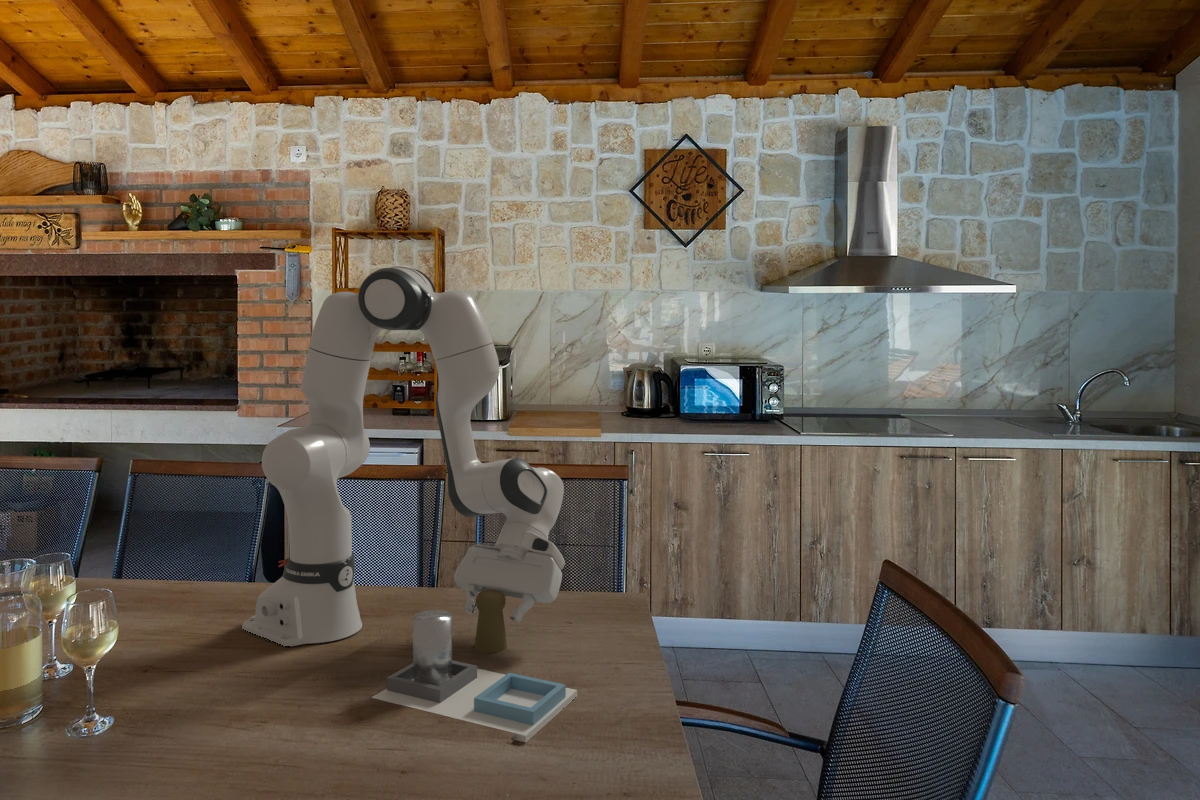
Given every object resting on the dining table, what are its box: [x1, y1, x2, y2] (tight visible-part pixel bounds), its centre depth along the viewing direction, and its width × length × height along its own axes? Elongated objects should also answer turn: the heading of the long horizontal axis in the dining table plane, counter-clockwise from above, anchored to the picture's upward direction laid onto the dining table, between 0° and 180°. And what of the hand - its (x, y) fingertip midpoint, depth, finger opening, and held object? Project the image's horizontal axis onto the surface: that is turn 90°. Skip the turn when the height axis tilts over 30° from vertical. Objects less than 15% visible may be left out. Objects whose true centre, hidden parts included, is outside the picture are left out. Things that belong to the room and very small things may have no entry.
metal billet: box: [412, 609, 453, 686], centre depth 130 cm, size 6×6×11 cm
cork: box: [474, 590, 508, 654], centre depth 146 cm, size 6×6×11 cm
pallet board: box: [371, 659, 578, 743], centre depth 127 cm, size 27×16×3 cm, turn 65°
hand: (491, 616), depth 146 cm, fingers open, 8 cm apart
